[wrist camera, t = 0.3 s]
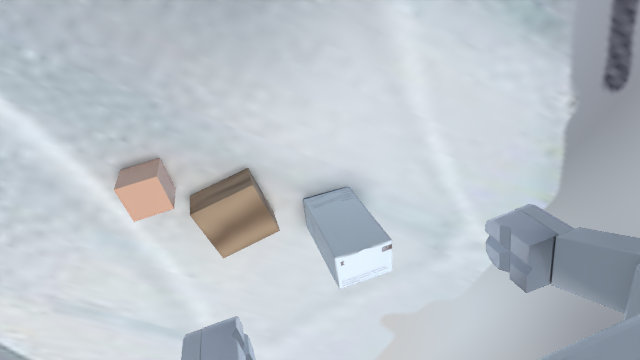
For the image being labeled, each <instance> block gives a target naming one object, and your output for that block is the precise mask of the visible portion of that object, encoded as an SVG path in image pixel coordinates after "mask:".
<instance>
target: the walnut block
mask: <svg viewBox="0 0 640 360" xmlns="http://www.w3.org/2000/svg"><path fill="white" fill-rule="evenodd" d="M190 216H191V217H192V218H193V220H194V221H195V222H196V224H197V225H198V226H199V228H200V229H201V230H202V231H203V233H204V234H205V235H206V237H207V238H208V239H209V240H210V242H211V243H212V244H213V246H214V247H215V248H216V249H217V251H218V252H219V253H220V255H221V256H222V257H223V258H225V257H227V256H229V255H231V254H233V253H235V252H237V251H239V250H242V249H244V248H246V247H248V246H250V245H252V244H254V243H256V242H258V241H260V240H262V239H264V238H266V237H268V236H270V235H272V234H274V233H276V232H278V231H280V230H279V227H278V224H277V221H276V218H275V215H274V212H273V210H272V209H271V207H270V205H269V203H268V202H267V200H266V198H265V197H264V195H263V193H262V191H261V190H260V188H259V186H258V184H257V183H256V181H255V179H254V177H253V176H252V174H251V172H250V171H249V169H248V168H247V169H245V170H243V171H241V172H239V173H237V174H234V175H232V176H230V177H228V178H226V179H224V180H222V181H220V182H218V183H216V184H214V185H212V186H210V187H207V188H205V189H203V190H201V191H199V192H197V193H195V194H193V195H191V196H190Z"/></svg>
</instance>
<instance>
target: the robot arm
mask: <svg viewBox="0 0 640 360" xmlns="http://www.w3.org/2000/svg"><path fill="white" fill-rule="evenodd" d="M485 231H486V232H487V233H488V234H489V237H488V239H487V241H486V252H487V254H488V256H489V259H490V260H491V261H492V263H493V264H494V265H495V266H496V267H497V268H498V269H500V270H502V271H506V272H509V276H510V279H511V280H512V281H513V282H514V283H515V284H516V285H517V286H519V287H520V288H521V289H522V290H523V291H524V292H525V293H528V292H530V291H533V290H536V289H538V288H541V287H544V286H546V285H549V284H551V285H552V286H555V287H558V288H560V289H563V290H565V291H568V292H570V293H573V294H575V295H578V296H581V297H583V298H586V299H588V300H591V301H593V302H596V303H599V304H601V305H604V306H606V307H609V308H611V309H614V310H617V311H619V312H622V313H624V314H625V315H624V320H623V321H622V322H620V323H618V324H615V325H613V326H611V327H609V328H606V329H604V330H602V331H600V332H597V333H595V334H594V335H591V336H589V337H586V338H584V339H582V340H580V341H578V342H575V343H573V344H571V345H569V346H566V347H564V348H562V349H560V350H558V351H555V352H553V353H551V354H549V355H546V356H544V357H542V358H540V359H538V360H640V238H635V237H630V236H625V235H619V234H614V233H608V232H602V231H597V230H591V229H586V228H581V227H579V228H576V229H575V228H573V227H571V226H569V225H568V224H566V223H564V222H563V221H561V220H559V219H557V218H556V217H554V216H552V215H550V214H549V213H547V212H545V211H544V210H542V209H540V208H539V207H537V206H535V205H532V204H528V205H525V206H523V207H520V208H518V209H515V210H513V211H511V212H508V213H505V214H503V215H500V216H498V217H495V218H493V219H490V220H488V221H487V222H486V225H485ZM181 360H255V355H254V351H253V347H252V344H251V342H250V339H249V337H248V335H246V334H244V333H243V325H242V323H241V321H240V319H239V317H237V316H236V317H233V318H230V319H227V320H224V321H221V322H219V323H216V324H213V325H210V326H207V327H204V328H203V329H200V330H197V331H194V332H191V333H189V334H186V335H185V337H184V339H183V346H182V356H181Z"/></svg>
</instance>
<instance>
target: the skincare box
mask: <svg viewBox="0 0 640 360" xmlns="http://www.w3.org/2000/svg"><path fill="white" fill-rule="evenodd" d="M303 203H304V209H305V216H306V222H307V228H308V230H309V232H310V234H311V236H312V238H313V239H314V241H315V243H316V245H317V247H318V249H319V251H320V253H321V255H322V257H323V259H324V261H325V262H326V264H327V266H328V268H329V270H330V272H331V274H332V276H333V278H334V280H335V282H336V283H337V285H338V287H339V289H342V288H345V287H348V286H350V285H353V284H356V283H359V282H362V281H364V280H367V279H370V278H373V277H376V276H379V275H382V274H384V273H387V272H390V271H392V239H391V238H390V237H389V236H388V235H387V233H386V232H385V231H384V230H383V228H382V227H381V226H380V225H379V223H378V222H377V221H376V220H375V219H374V217H373V216H372V215H371V214H370V212H369V211H368V210H367V209H366V208H365V206H364V205H363V204H362V203H361V201H360V200H359V199H358V198H357V196H356V195H355V194H354V193H353V192H352V190H351V189H350V188H349V187H346V188H343V189H339V190H336V191H332V192H328V193H325V194H321V195H318V196H314V197H311V198H307V199H304V200H303Z"/></svg>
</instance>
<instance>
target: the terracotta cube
mask: <svg viewBox="0 0 640 360" xmlns="http://www.w3.org/2000/svg"><path fill="white" fill-rule="evenodd" d="M114 191H115V193H116V194H117V196H118V197H119V199H120V200H121V202H122V204H123V205H124V207H125V208H126V210H127V211H128V213H129V215H130V216H131V218H132V219H133V221H134V222H135V221H138V220H141V219H144V218H147V217H150V216H153V215H156V214H159V213H162V212H166V211H169V210H172V209H174V203H175V187H174V185H173V183H172V181H171V179H170V177H169V175H168V173H167V171H166V169H165V167H164V165H163V163H162V161H161V159H160V158H159V159H155V160H152V161H149V162H145V163H142V164H139V165H135V166H132V167H129V168H126V169H122V170H120V173H119V176H118V179H117V182H116V185H115V188H114Z"/></svg>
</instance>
